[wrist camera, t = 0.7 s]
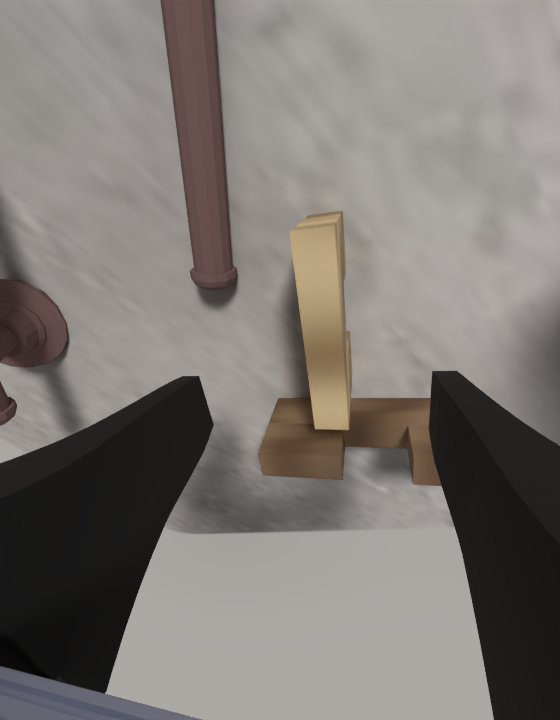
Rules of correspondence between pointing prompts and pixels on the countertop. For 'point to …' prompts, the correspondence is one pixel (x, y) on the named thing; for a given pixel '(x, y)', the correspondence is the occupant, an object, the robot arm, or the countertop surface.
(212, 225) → the toilet paper hanger
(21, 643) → the robot arm
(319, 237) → the light wooden block
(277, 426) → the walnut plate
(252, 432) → the countertop surface
